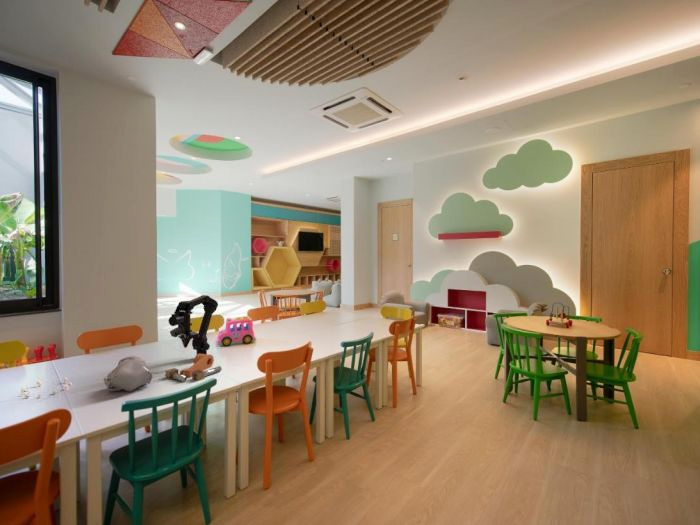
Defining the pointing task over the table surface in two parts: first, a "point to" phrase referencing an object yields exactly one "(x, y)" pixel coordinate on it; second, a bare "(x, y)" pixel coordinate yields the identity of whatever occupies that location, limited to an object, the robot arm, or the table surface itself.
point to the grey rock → (128, 375)
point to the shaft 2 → (204, 373)
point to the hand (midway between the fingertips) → (185, 347)
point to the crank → (199, 364)
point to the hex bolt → (174, 375)
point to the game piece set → (40, 385)
